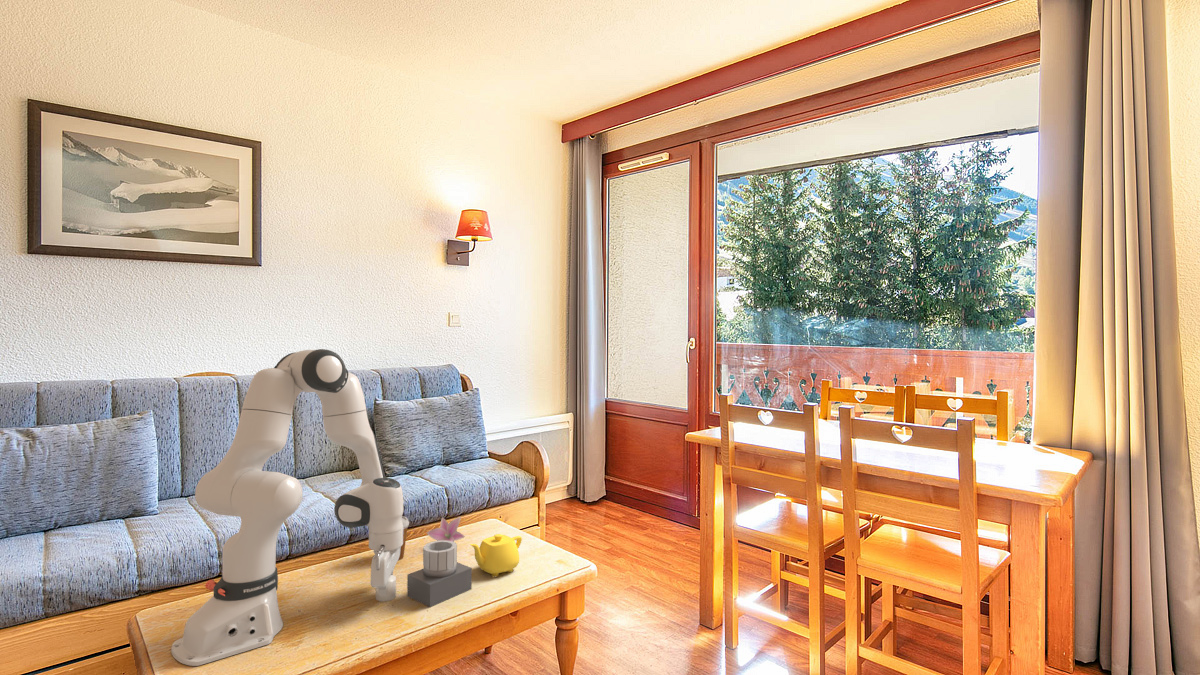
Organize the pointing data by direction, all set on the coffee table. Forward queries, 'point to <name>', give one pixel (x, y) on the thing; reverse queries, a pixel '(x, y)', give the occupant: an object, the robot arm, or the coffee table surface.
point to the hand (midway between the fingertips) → (385, 589)
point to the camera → (439, 575)
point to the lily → (447, 531)
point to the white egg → (388, 590)
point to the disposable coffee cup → (404, 536)
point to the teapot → (498, 554)
